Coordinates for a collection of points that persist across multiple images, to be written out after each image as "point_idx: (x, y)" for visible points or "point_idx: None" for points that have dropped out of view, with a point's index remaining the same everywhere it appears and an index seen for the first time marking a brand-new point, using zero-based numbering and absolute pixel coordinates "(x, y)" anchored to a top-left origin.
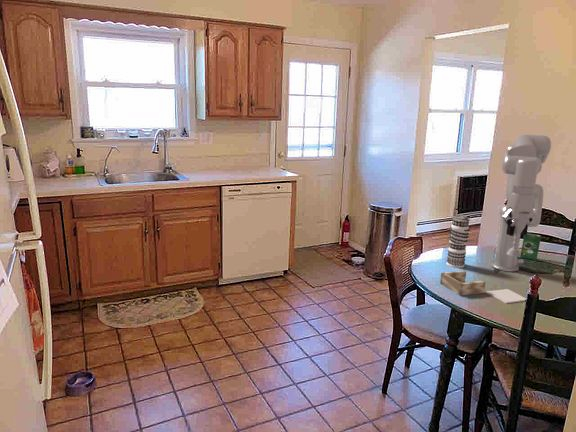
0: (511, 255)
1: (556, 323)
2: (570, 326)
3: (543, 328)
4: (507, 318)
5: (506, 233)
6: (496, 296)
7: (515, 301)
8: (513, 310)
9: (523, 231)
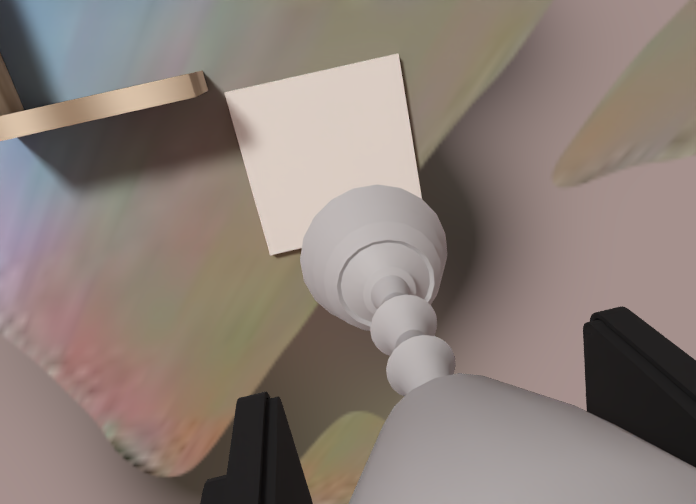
0: (322, 304)
1: None
2: None
3: None
4: (188, 408)
5: (237, 403)
6: (252, 175)
7: None
8: (267, 329)
9: None
